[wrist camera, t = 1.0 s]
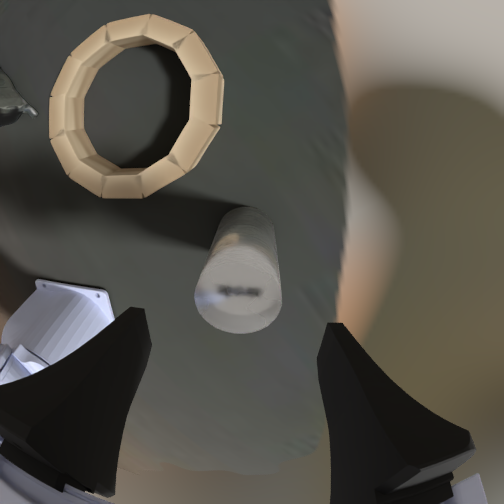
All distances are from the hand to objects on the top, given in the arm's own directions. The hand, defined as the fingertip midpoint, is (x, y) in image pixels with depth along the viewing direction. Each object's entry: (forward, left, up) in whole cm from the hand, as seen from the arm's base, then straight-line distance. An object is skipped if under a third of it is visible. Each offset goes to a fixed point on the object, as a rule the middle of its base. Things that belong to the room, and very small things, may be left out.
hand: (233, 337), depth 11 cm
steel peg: (0, 0, -10) cm, 10 cm away
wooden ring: (-8, +9, -10) cm, 16 cm away
